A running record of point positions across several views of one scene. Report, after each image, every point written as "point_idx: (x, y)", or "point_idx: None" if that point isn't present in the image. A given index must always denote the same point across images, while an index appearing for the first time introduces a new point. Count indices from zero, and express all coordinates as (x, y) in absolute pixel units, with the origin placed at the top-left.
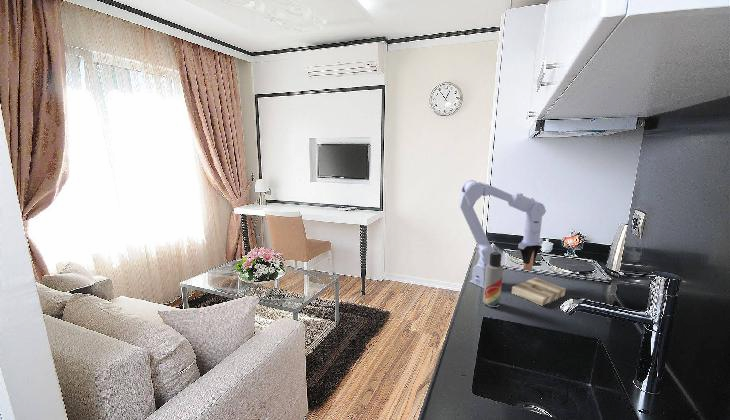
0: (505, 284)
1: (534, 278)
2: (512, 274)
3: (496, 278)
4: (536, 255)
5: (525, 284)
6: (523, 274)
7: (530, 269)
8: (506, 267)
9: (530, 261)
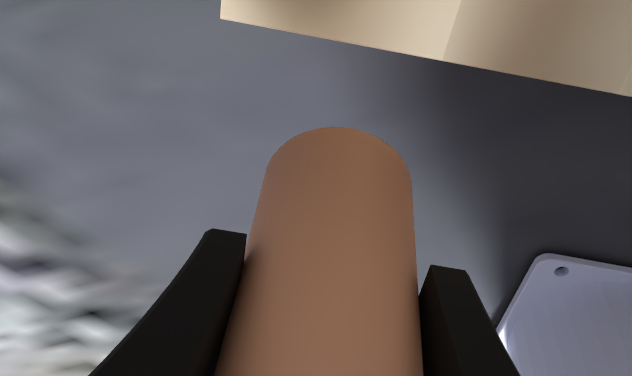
0: (513, 205)
1: (268, 12)
2: (182, 237)
3: None
4: (136, 353)
5: (626, 30)
6: (71, 166)
7: (382, 152)
8: (70, 317)
9: (397, 295)
